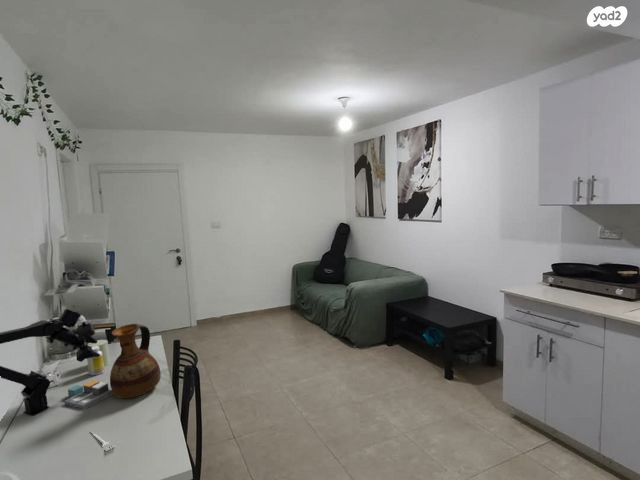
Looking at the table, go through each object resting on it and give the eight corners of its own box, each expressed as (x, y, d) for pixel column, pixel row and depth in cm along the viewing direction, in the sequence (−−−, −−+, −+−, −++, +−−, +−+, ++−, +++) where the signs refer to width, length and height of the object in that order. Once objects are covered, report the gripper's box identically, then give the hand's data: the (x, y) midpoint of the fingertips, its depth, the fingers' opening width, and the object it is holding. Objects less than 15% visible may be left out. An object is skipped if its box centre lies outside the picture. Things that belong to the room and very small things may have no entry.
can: (91, 362, 202) (88, 341, 201) (110, 359, 206) (108, 337, 204) (88, 369, 194) (86, 346, 192) (109, 365, 197) (106, 342, 196)
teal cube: (75, 398, 165) (73, 390, 164) (68, 397, 166) (67, 389, 166) (83, 393, 168) (82, 386, 168) (77, 392, 170) (76, 385, 169)
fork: (94, 430, 141) (94, 426, 141) (118, 450, 128) (117, 444, 128) (84, 435, 138) (84, 430, 138) (108, 455, 126) (107, 449, 125)
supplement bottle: (107, 369, 192) (104, 345, 191) (98, 375, 186) (95, 350, 184) (95, 369, 193) (92, 345, 192) (85, 375, 186) (82, 350, 185)
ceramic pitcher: (100, 399, 162) (92, 331, 159) (136, 377, 181) (129, 316, 178) (138, 404, 156) (130, 334, 153) (171, 381, 175) (164, 318, 172)
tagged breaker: (90, 394, 164) (89, 386, 163) (84, 392, 165) (83, 385, 165) (100, 388, 168) (99, 381, 168) (93, 387, 169) (92, 380, 169)
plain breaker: (99, 395, 162) (98, 388, 161) (92, 394, 163) (91, 386, 163) (108, 390, 166) (107, 383, 166) (102, 389, 167) (101, 381, 167)
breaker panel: (84, 409, 155) (84, 404, 155) (64, 404, 160) (64, 399, 159) (112, 393, 167) (112, 388, 167) (93, 389, 172) (93, 385, 171)
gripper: (83, 336, 159) (114, 349, 170) (79, 310, 172) (108, 323, 183) (63, 356, 158) (95, 368, 169) (60, 328, 171) (90, 340, 182)
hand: (98, 349), depth 176 cm, fingers open, 9 cm apart
